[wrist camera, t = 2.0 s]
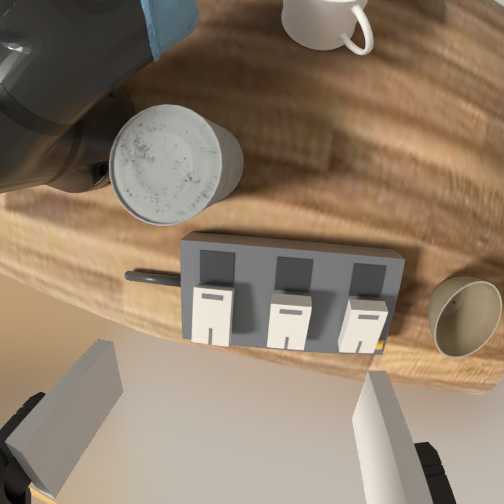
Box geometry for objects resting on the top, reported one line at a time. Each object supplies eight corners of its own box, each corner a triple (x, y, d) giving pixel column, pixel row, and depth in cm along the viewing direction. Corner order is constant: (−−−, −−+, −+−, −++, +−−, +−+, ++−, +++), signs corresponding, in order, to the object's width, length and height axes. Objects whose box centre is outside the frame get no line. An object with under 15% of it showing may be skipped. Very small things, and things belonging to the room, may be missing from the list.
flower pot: (400, 298, 37) (420, 325, 30) (455, 245, 34) (484, 262, 27) (434, 343, 38) (454, 372, 31) (485, 296, 35) (511, 318, 29)
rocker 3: (337, 341, 35) (339, 352, 33) (349, 299, 32) (351, 310, 30) (370, 342, 34) (373, 353, 33) (384, 301, 31) (388, 312, 30)
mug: (380, 62, 29) (418, 24, 18) (315, 84, 31) (329, 49, 20) (332, -15, 27) (346, -70, 15) (268, 5, 29) (261, -51, 17)
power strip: (132, 313, 41) (118, 328, 37) (126, 227, 38) (109, 234, 34) (375, 337, 38) (382, 355, 34) (394, 249, 35) (406, 260, 31)
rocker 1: (195, 336, 35) (191, 341, 33) (198, 284, 34) (193, 287, 32) (230, 340, 34) (228, 346, 33) (234, 288, 34) (232, 291, 32)
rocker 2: (268, 336, 35) (266, 347, 34) (271, 293, 32) (270, 304, 31) (303, 339, 35) (303, 350, 33) (311, 296, 32) (311, 307, 30)
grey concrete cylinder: (225, 108, 33) (196, 83, 21) (256, 187, 35) (241, 200, 23) (151, 142, 35) (94, 137, 23) (180, 216, 37) (134, 242, 25)
